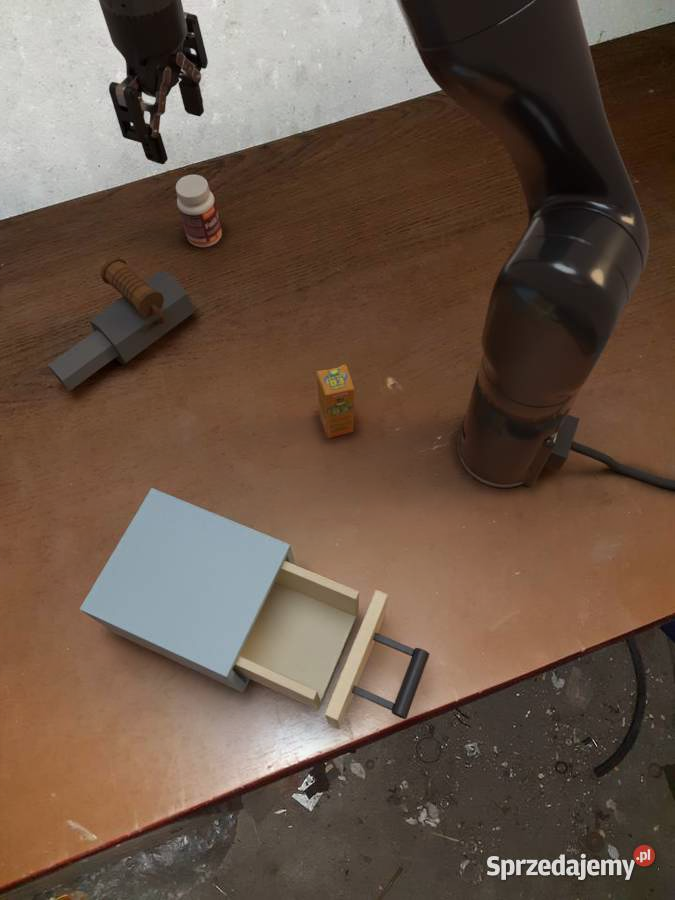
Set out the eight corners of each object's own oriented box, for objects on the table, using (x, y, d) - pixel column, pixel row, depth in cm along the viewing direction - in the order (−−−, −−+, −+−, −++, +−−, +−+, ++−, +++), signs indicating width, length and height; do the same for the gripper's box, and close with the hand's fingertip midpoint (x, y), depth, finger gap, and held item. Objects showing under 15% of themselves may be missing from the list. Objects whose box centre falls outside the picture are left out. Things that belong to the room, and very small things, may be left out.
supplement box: (327, 441, 78) (323, 395, 69) (319, 416, 80) (314, 367, 71) (355, 434, 78) (354, 387, 70) (347, 409, 80) (345, 360, 71)
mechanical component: (45, 367, 84) (7, 316, 75) (159, 286, 89) (136, 229, 80) (93, 418, 80) (59, 370, 71) (208, 330, 86) (190, 275, 77)
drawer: (435, 636, 67) (443, 617, 60) (392, 753, 63) (396, 747, 56) (262, 564, 71) (252, 538, 64) (210, 669, 66) (193, 654, 59)
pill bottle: (217, 250, 91) (204, 201, 84) (182, 245, 92) (167, 196, 85) (226, 224, 94) (215, 174, 86) (193, 219, 94) (178, 169, 87)
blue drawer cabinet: (298, 574, 71) (290, 544, 63) (243, 693, 66) (226, 677, 58) (175, 523, 74) (151, 487, 66) (113, 632, 69) (78, 609, 61)
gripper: (132, 41, 61) (175, 187, 75) (208, -45, 67) (235, 105, 81) (61, 22, 62) (116, 169, 77) (141, -61, 68) (179, 90, 83)
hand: (177, 136), depth 79 cm, fingers open, 8 cm apart
